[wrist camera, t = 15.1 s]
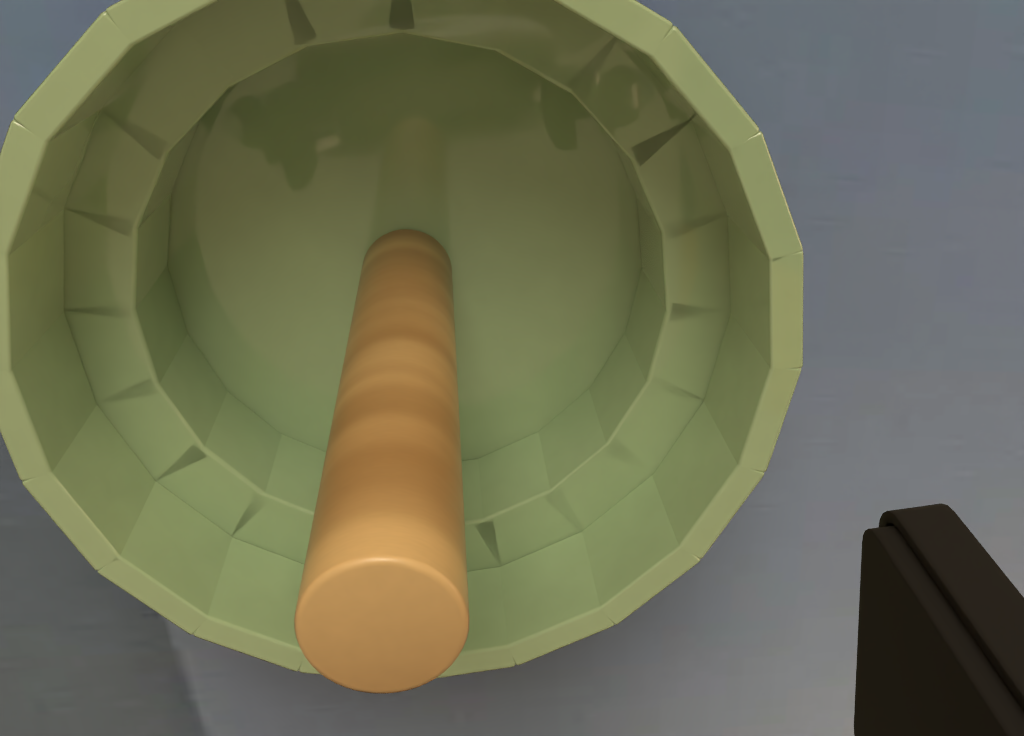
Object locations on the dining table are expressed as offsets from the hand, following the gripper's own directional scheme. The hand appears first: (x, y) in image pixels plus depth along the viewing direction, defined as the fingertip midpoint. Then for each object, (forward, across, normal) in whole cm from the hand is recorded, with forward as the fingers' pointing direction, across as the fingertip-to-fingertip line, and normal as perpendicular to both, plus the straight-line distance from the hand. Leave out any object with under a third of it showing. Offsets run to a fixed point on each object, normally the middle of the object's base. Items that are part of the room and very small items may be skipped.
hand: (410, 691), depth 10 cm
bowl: (+14, +1, 0) cm, 14 cm away
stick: (+13, +1, 0) cm, 13 cm away
